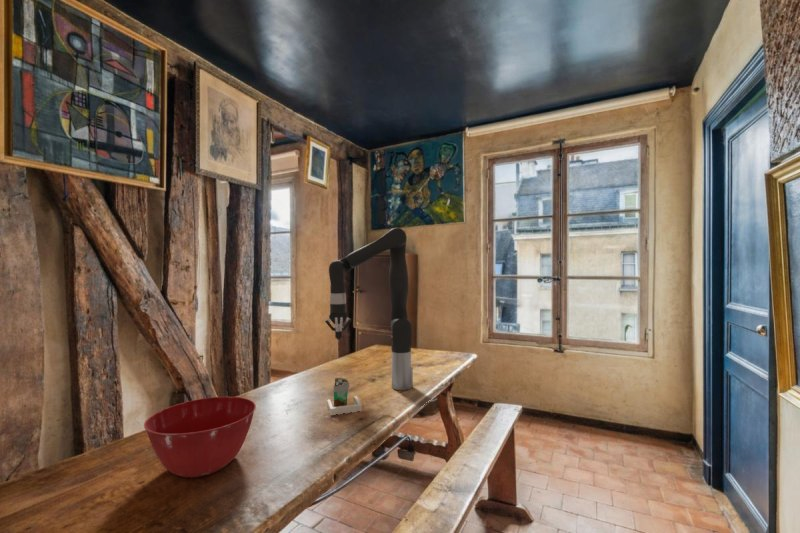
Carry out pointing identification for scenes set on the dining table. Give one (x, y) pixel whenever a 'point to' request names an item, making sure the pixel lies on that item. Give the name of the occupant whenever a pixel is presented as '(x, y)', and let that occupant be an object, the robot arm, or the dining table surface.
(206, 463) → the mixing bowl
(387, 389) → the dining table surface
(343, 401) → the food container
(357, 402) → the bay
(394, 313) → the robot arm
